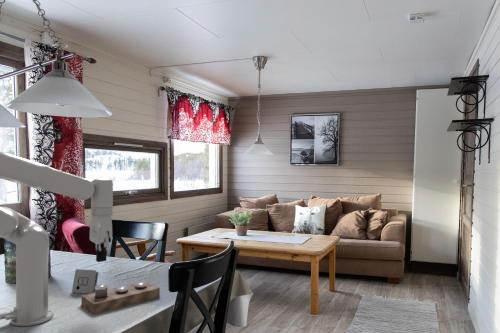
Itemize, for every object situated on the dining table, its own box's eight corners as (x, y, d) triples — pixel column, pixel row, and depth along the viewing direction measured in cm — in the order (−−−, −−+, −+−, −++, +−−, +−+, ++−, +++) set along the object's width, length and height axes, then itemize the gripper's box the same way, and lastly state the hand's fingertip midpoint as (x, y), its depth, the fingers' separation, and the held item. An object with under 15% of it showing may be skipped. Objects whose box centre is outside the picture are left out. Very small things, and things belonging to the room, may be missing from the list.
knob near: (97, 300, 140) (97, 288, 140) (93, 297, 143) (93, 285, 143) (109, 298, 143) (109, 285, 143) (104, 295, 146) (104, 283, 146)
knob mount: (94, 314, 136) (94, 304, 136) (81, 305, 144) (81, 295, 144) (159, 296, 154) (159, 288, 154) (144, 289, 162) (144, 281, 162)
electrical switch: (71, 292, 158) (72, 269, 159) (79, 290, 163) (80, 267, 164) (91, 294, 156) (93, 271, 157) (99, 291, 161) (100, 269, 162)
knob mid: (118, 302, 146) (118, 290, 146) (113, 299, 149) (113, 287, 149) (129, 299, 149) (129, 288, 149) (124, 296, 152) (124, 285, 152)
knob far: (138, 297, 151) (138, 286, 151) (133, 294, 155) (133, 283, 155) (148, 294, 154) (148, 283, 154) (143, 292, 158) (143, 281, 158)
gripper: (83, 210, 146) (83, 259, 146) (100, 214, 135) (99, 266, 135) (103, 209, 151) (102, 256, 151) (120, 212, 141) (119, 263, 141)
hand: (101, 261), depth 143 cm, fingers closed
